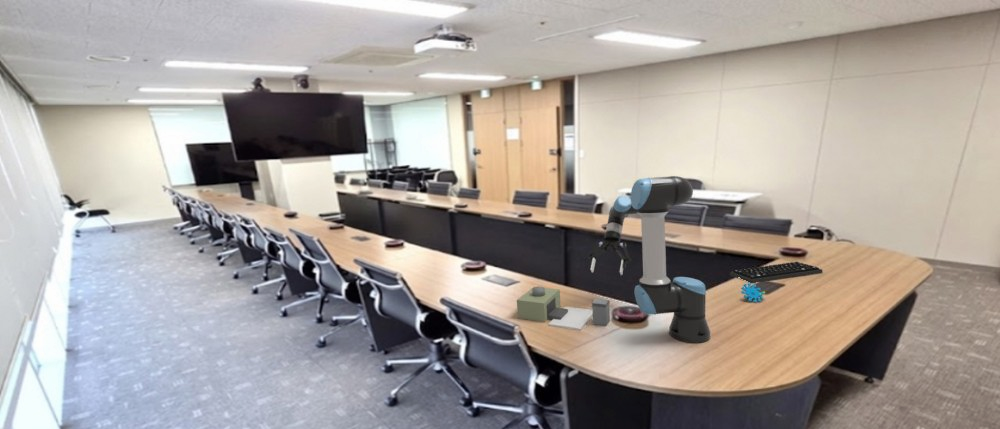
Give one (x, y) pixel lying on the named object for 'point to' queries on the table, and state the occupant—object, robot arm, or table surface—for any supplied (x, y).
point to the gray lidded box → (601, 312)
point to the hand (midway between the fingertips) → (606, 272)
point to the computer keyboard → (775, 272)
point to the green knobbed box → (551, 309)
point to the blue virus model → (752, 293)
